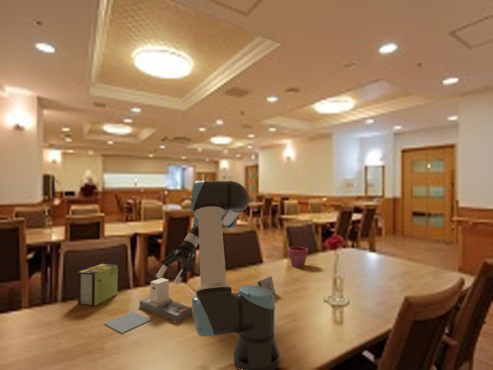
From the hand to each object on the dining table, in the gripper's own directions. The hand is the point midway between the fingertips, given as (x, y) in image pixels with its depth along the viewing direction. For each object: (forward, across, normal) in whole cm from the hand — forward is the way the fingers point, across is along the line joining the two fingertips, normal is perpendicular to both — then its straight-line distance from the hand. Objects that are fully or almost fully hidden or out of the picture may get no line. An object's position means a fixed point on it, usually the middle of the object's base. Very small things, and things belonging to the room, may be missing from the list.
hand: (166, 280), depth 132 cm
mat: (+23, -1, +6) cm, 24 cm away
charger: (+10, -1, -3) cm, 10 cm away
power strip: (+12, -5, -5) cm, 14 cm away
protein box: (+20, +34, +2) cm, 39 cm away
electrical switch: (-19, -33, -36) cm, 52 cm away
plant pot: (-61, -24, -79) cm, 103 cm away
